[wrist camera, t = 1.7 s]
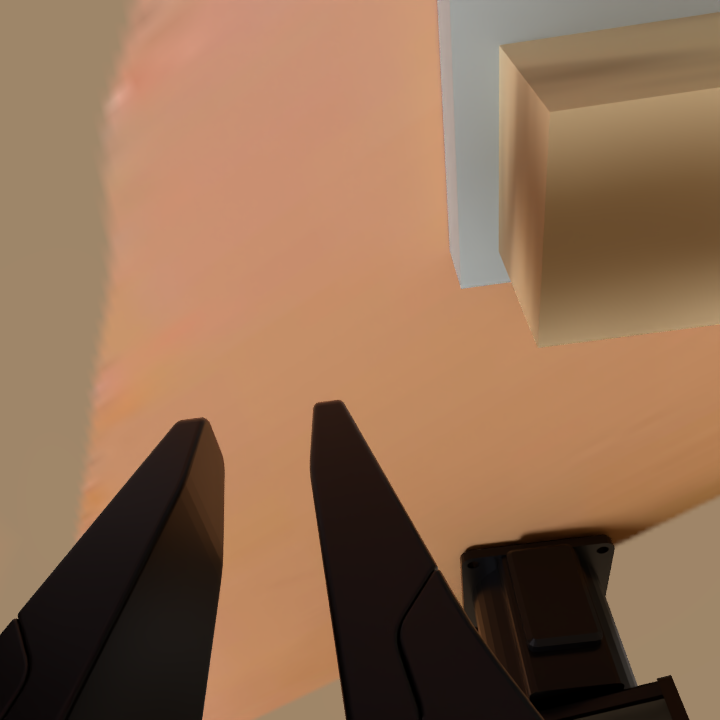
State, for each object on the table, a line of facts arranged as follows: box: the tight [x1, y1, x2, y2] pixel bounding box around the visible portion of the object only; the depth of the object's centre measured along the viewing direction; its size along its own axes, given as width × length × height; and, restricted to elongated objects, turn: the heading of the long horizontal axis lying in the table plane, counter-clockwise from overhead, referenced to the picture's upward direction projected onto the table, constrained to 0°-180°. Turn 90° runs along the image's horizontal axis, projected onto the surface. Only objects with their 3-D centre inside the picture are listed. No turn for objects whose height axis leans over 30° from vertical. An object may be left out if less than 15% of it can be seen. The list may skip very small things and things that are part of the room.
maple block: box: [499, 12, 720, 348], centre depth 14 cm, size 5×5×4 cm
